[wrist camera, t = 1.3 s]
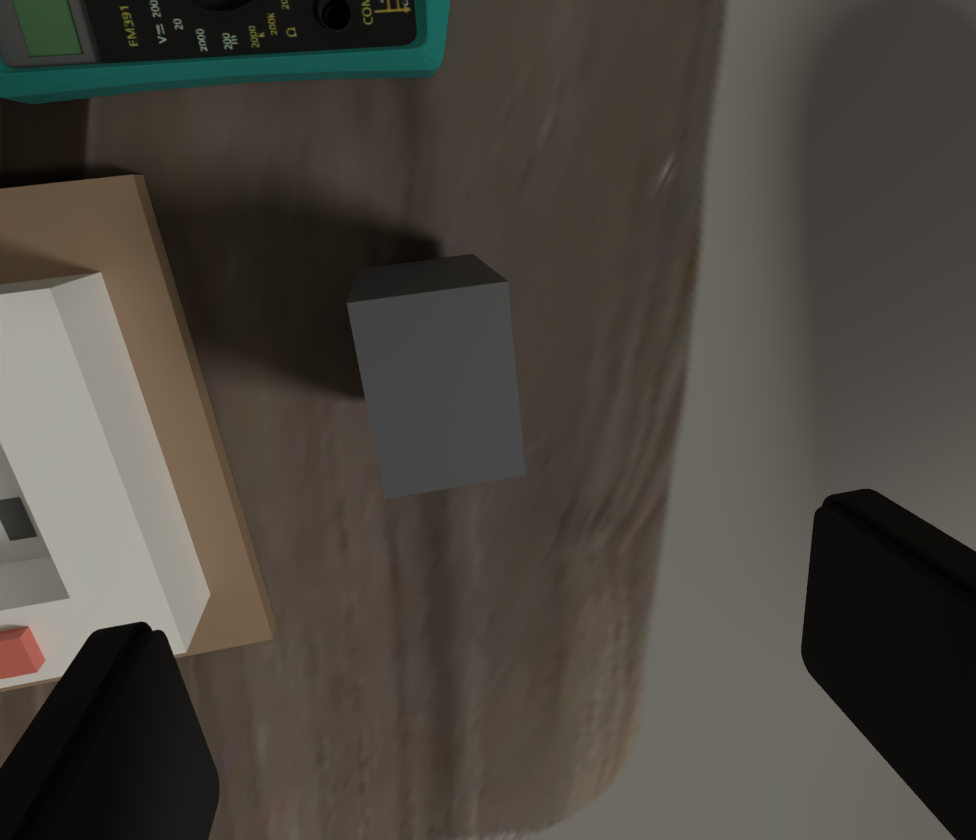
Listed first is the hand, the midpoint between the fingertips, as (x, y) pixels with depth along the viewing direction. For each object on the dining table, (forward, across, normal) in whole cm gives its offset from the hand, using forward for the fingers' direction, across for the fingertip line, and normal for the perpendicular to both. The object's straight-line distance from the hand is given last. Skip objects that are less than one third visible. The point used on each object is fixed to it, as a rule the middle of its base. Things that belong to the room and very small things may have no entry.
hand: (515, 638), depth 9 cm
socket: (+18, +17, +2) cm, 25 cm away
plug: (+18, 0, -1) cm, 18 cm away
